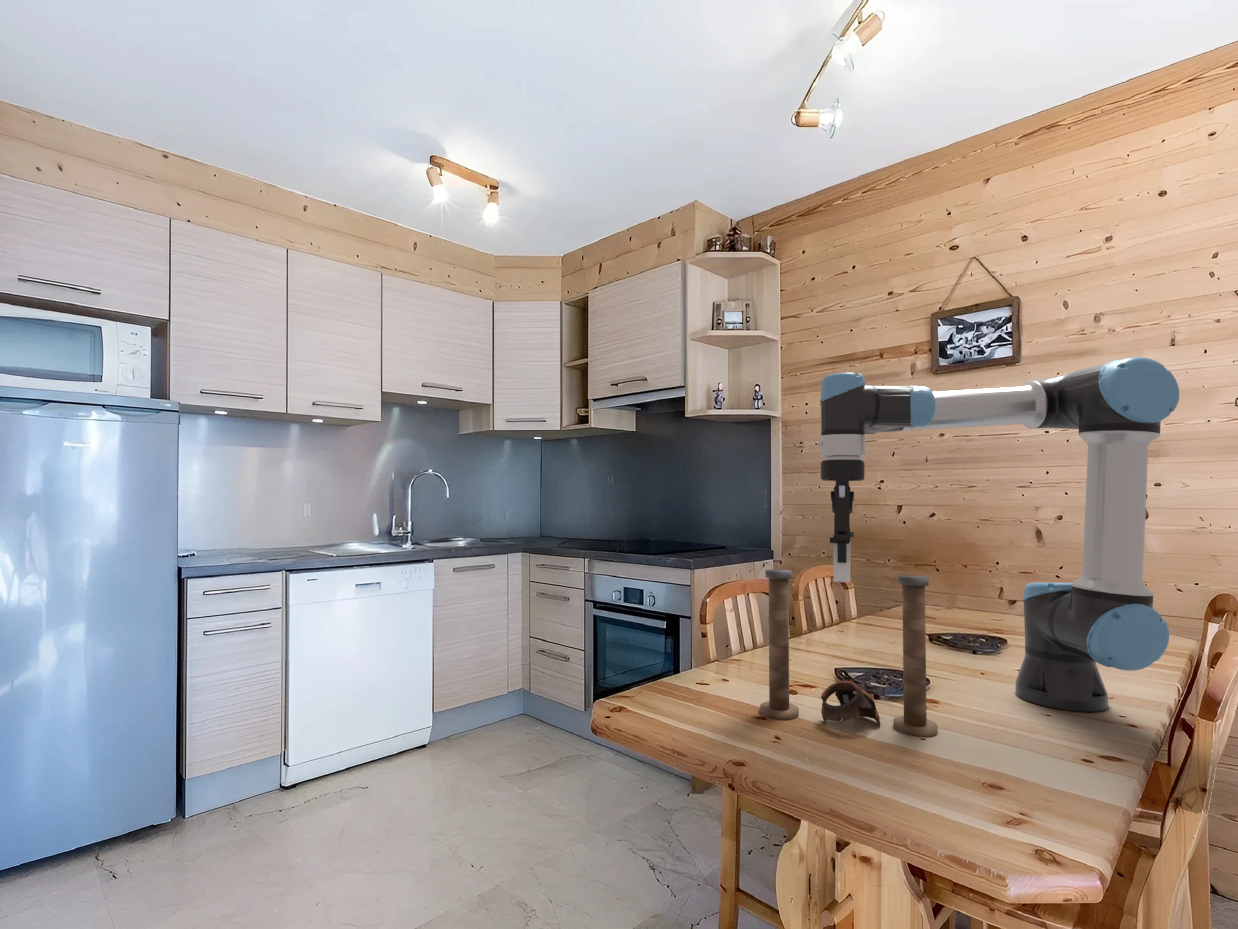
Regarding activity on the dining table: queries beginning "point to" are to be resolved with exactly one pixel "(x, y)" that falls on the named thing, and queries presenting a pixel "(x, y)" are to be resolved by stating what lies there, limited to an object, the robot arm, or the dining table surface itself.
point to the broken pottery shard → (848, 703)
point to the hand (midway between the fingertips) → (842, 576)
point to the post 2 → (914, 659)
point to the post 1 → (779, 648)
